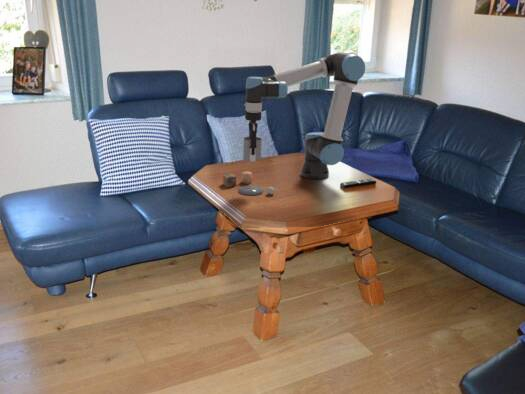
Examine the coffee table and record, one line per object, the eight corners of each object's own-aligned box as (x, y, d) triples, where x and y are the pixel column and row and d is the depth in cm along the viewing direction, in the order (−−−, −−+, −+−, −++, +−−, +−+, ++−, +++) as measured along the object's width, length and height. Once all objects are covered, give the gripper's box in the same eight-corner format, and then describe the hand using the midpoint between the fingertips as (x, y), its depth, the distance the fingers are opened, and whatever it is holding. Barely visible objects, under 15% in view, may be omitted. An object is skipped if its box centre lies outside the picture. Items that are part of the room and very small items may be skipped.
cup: (258, 162, 240) (259, 141, 237) (241, 160, 242) (242, 139, 238) (262, 157, 248) (263, 137, 244) (245, 156, 249) (246, 136, 246)
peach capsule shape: (251, 180, 265) (251, 171, 263) (252, 183, 260) (252, 174, 258) (241, 180, 264) (241, 171, 262) (242, 183, 259) (242, 174, 258)
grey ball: (273, 193, 247) (274, 185, 246) (274, 195, 244) (275, 188, 243) (266, 193, 247) (266, 186, 246) (267, 195, 243) (267, 188, 242)
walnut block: (232, 183, 261) (232, 173, 259) (236, 185, 256) (236, 176, 255) (223, 184, 259) (223, 174, 257) (226, 187, 254) (226, 177, 253)
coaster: (262, 186, 255) (262, 185, 255) (264, 195, 244) (264, 193, 244) (238, 187, 254) (238, 185, 254) (239, 195, 243) (239, 194, 243)
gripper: (244, 107, 247) (243, 152, 254) (246, 115, 227) (245, 164, 234) (259, 107, 247) (258, 153, 255) (263, 115, 227) (261, 164, 235)
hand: (251, 158), depth 245 cm, fingers closed on cup, 8 cm apart
